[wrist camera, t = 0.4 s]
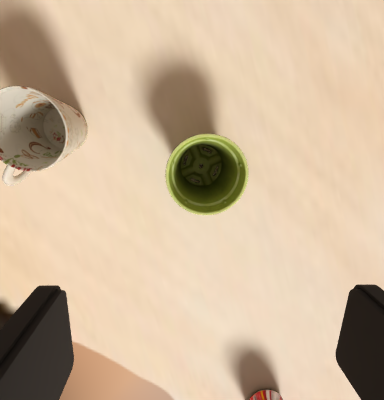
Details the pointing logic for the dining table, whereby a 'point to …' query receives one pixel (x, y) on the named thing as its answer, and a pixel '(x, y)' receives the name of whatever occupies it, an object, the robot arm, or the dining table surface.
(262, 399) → the soda can
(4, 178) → the mug
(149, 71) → the dining table surface
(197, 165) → the plant pot
